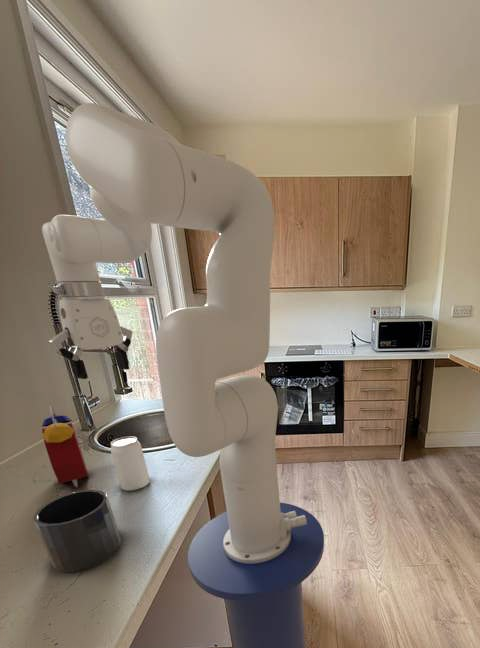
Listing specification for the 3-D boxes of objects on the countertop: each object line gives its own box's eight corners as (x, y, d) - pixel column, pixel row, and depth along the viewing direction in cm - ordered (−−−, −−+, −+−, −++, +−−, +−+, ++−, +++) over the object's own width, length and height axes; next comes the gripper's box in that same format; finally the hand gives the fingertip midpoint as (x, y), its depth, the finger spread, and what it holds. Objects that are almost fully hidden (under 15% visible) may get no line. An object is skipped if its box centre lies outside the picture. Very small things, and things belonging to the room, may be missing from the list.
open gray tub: (124, 526, 71) (111, 484, 68) (116, 562, 62) (101, 516, 58) (62, 540, 68) (45, 497, 64) (44, 580, 59) (23, 532, 55)
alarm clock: (59, 471, 94) (33, 401, 86) (96, 462, 99) (75, 394, 91) (61, 495, 83) (32, 417, 75) (103, 483, 88) (79, 408, 80)
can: (138, 476, 91) (127, 434, 86) (155, 481, 88) (145, 438, 84) (115, 488, 85) (102, 444, 81) (133, 494, 83) (120, 448, 78)
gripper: (45, 292, 63) (73, 384, 70) (131, 290, 77) (148, 366, 84) (24, 293, 67) (53, 380, 73) (110, 291, 81) (128, 364, 87)
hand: (104, 373), depth 79 cm, fingers open, 9 cm apart
